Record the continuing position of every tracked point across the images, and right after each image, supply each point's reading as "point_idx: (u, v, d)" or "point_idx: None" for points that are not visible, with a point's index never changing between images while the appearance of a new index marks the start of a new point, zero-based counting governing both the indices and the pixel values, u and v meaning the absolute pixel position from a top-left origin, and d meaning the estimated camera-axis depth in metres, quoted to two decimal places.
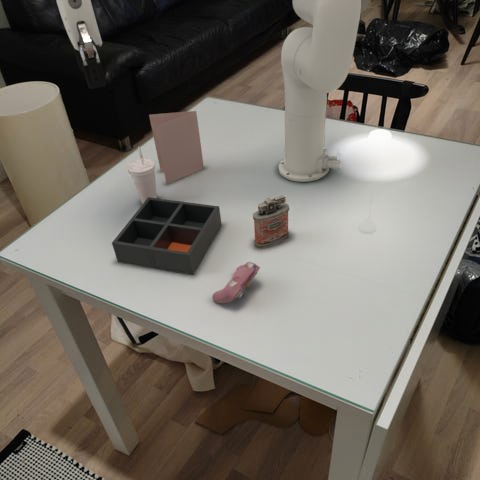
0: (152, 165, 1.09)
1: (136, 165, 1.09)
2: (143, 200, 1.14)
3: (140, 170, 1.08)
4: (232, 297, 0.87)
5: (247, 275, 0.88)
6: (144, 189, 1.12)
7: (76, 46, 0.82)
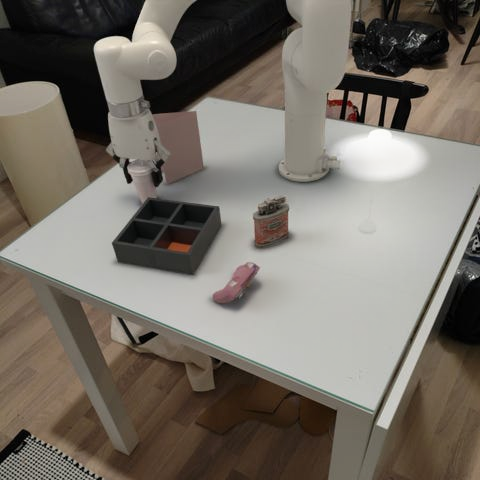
0: None
1: (136, 165, 1.09)
2: (143, 200, 1.14)
3: (140, 170, 1.08)
4: (232, 297, 0.87)
5: (247, 275, 0.88)
6: (144, 190, 1.12)
7: (153, 157, 1.05)
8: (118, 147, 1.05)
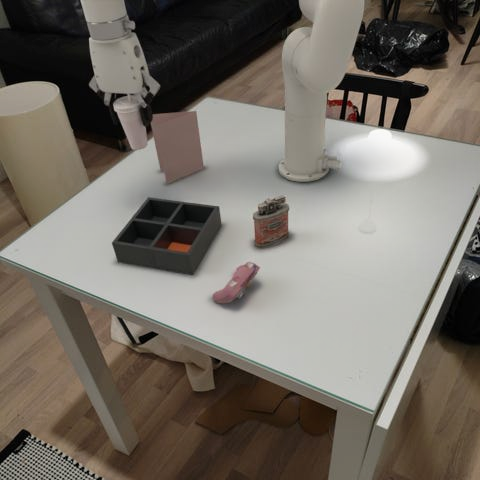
0: None
1: (123, 101, 0.99)
2: (132, 143, 1.04)
3: (127, 106, 0.97)
4: (232, 297, 0.87)
5: (247, 275, 0.88)
6: (132, 130, 1.01)
7: (140, 89, 0.94)
8: (102, 79, 0.95)
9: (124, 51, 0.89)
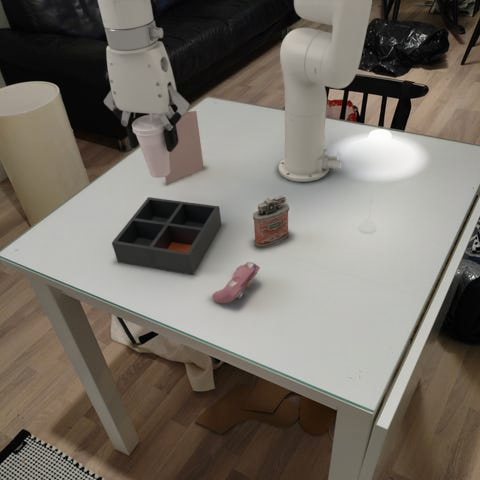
0: None
1: (143, 122, 0.83)
2: (152, 170, 0.88)
3: (149, 128, 0.82)
4: (232, 297, 0.87)
5: (247, 275, 0.88)
6: (154, 155, 0.85)
7: (166, 109, 0.79)
8: (120, 96, 0.79)
9: (149, 64, 0.74)
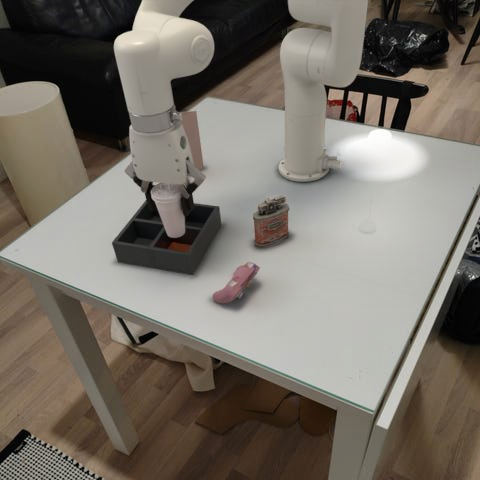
0: None
1: (162, 190, 0.89)
2: (169, 231, 0.94)
3: (167, 197, 0.87)
4: (232, 297, 0.87)
5: (247, 275, 0.88)
6: (171, 219, 0.91)
7: (184, 181, 0.84)
8: (141, 169, 0.85)
9: (169, 143, 0.79)
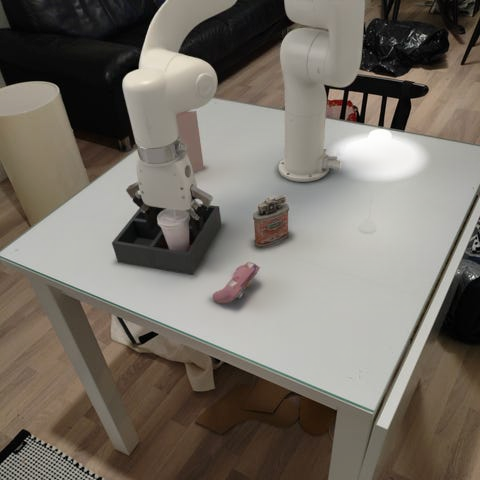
0: (186, 216, 0.93)
1: (167, 216, 0.93)
2: None
3: (173, 223, 0.92)
4: (232, 297, 0.87)
5: (247, 275, 0.88)
6: (176, 243, 0.95)
7: (189, 207, 0.88)
8: (147, 195, 0.89)
9: (175, 173, 0.83)
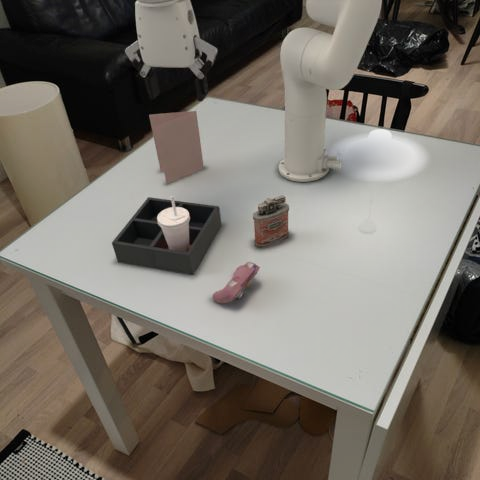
0: (186, 216, 0.93)
1: (167, 216, 0.93)
2: None
3: (173, 223, 0.92)
4: (232, 297, 0.87)
5: (247, 275, 0.88)
6: (176, 243, 0.95)
7: (192, 61, 0.83)
8: (148, 51, 0.83)
9: (177, 16, 0.78)
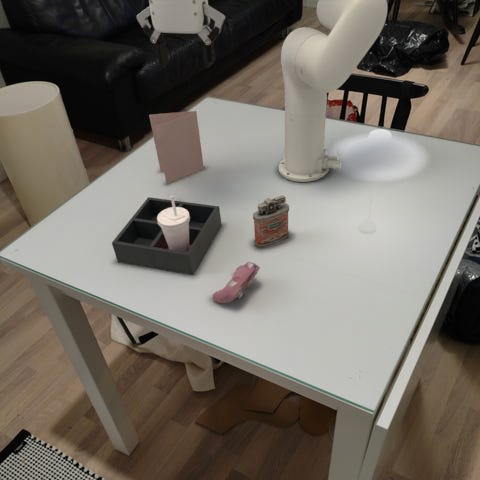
0: (186, 216, 0.93)
1: (167, 216, 0.93)
2: None
3: (173, 223, 0.92)
4: (232, 297, 0.87)
5: (247, 275, 0.88)
6: (176, 243, 0.95)
7: (201, 27, 0.86)
8: (158, 16, 0.87)
9: None
